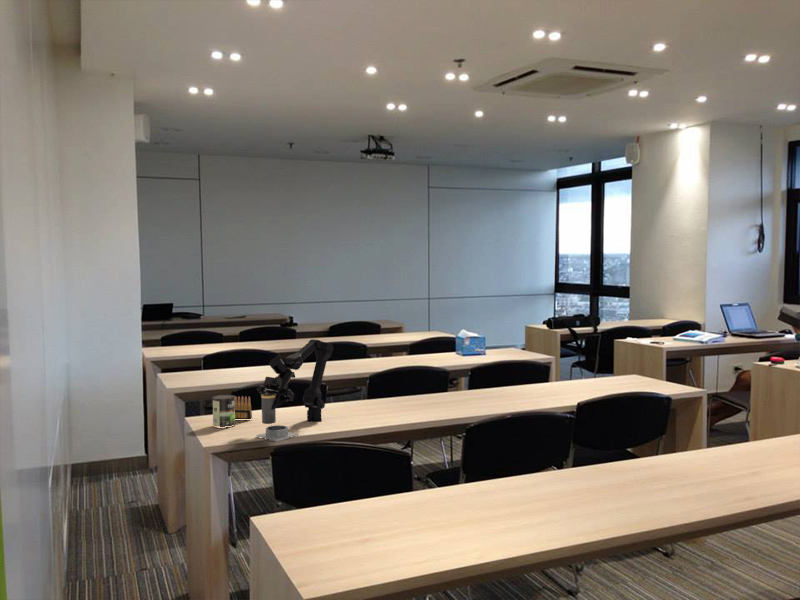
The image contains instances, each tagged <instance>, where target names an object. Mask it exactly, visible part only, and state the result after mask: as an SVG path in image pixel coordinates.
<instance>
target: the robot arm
mask: <svg viewBox="0 0 800 600" xmlns="http://www.w3.org/2000/svg"><path fill="white" fill-rule="evenodd" d="M333 351H334V346H333V343H331V342H327V341H326V342H325V341H322V340H319V339H310V340H308V342H307V343H306V344H305V345H304V346H302V347H301V348H300V349H299V350H298V351H297V352H295V353H293V354H290V355H287V357H285V358H283V357H282V355H280V354H279V355H276V356H275V357H273V358H272V359H270V360H269V362H268V365H269V367H270V368H271V369H272V370H273V372H274V373H275V374H276V375H277V376H275V377H272V376H265V378H264V382H263V384H264V385H261V384H260V385H258V386H257V388H256V391H257V392H258V393H259V395H260V396H261V395H262V394H267V393H273V394H276V397H275V401H274V403H273V405H272V408H271V409H272V410H273V409H275V410H276V409H277V408H278V407H279V406H281V405H282V404H284V403H286V402H288V401H291V402H293V401H294V398H295V393H294V392H293V391H292V390H291V389H290V388H289V382H290V380H291V379H295V378H296V374H295V372H294V371H297V370H299V369H300V368H301V367H302V365H303V363H304V360H305V359H306V358H308V357H309V356H310V355H312V353H314V352H315V356H316V362H315V365H314V369H313V373H312V377H311V382H310V385H309V387H308V388H305V389H304V393H303V396H302V397H303V398H302V401H303V404H304V408H308V409H307V410H306V418H307V422H322V410H324V408H325V407H326V403H325V401H324V400H323V399H322V392H321V385H322V382H323V379H324V378H323V377H324V373H325V369H326V366H327V361H328V360H329V359H330V358H331V357H332V355H333ZM292 370H294V371H292ZM267 385H268V387H267ZM260 408H261V409H262V400H261V402H260Z"/></svg>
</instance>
